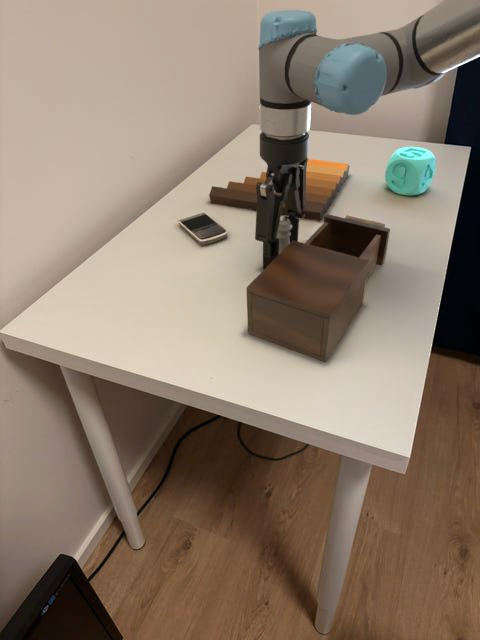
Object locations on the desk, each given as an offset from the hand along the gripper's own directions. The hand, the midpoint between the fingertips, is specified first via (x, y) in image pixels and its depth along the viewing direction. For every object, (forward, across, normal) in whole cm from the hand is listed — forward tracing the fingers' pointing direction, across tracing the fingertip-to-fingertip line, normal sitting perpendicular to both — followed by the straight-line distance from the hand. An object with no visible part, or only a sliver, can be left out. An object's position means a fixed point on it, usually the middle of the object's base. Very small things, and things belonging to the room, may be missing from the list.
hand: (280, 259), depth 88 cm
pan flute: (+1, -27, -14) cm, 30 cm away
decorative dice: (0, -40, +11) cm, 42 cm away
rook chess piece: (0, 0, 0) cm, 1 cm away
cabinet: (0, +13, +11) cm, 17 cm away
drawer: (-1, -2, +11) cm, 12 cm away
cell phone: (+1, -2, -19) cm, 19 cm away
